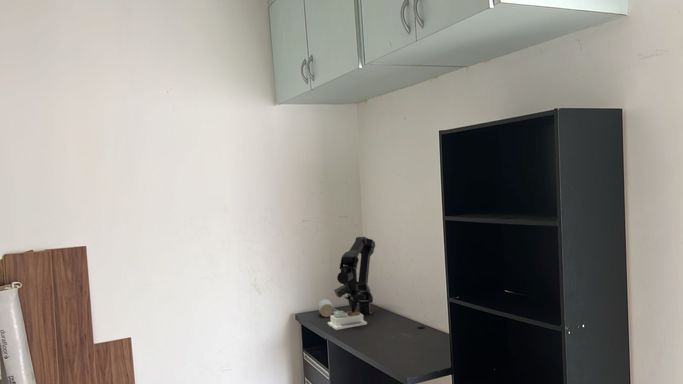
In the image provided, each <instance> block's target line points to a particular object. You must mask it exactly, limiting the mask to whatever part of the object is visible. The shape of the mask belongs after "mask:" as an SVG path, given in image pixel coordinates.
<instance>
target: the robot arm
mask: <svg viewBox="0 0 683 384" xmlns="http://www.w3.org/2000/svg"><path fill="white" fill-rule="evenodd" d="M375 248H376V242H375V240H373V239H371V238H369V237H368V238H367V237H366V236H357V237H356V238H355V241H354V243H353V244H352V246H351V248H350V249H349V250H348V251H345V252H344V253H343V254H342V255H341V258H340V263H339V268H338V269H339V270H340V272H339V273H338V274H337V277H336V278H337V281H338V283H339V284H341V285H340V286H339V287H337V288H335V289H334V290H333V292H334V293H335V296H336V297H338V298H342V297H343V298H344V299H345V300H347V301H348V304H349V305H348V306H349V307H350V311H352V312H354V311H355V310H356V309H357V308H358V312H359V313H361V314H363V317H364V316H369V315H373V312H371V307H370V304H372V303H373V301H374V296H373V294H372V293H371V288H370V286H369V283H368V282H369V274H370V272H369V271H370V260H371V256H372V255H373V253H375V251H374V250H375ZM359 255H360V258H359ZM359 259H360V260H359ZM359 261H360V264H359ZM358 265H359V272H357V269H358ZM357 273H359V274H357ZM357 277H358V278H357ZM344 295H345V296H344ZM357 306H358V307H357Z"/></svg>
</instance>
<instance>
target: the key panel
mask: <svg viewBox="0 0 683 384" xmlns="http://www.w3.org/2000/svg"><path fill="white" fill-rule="evenodd" d="M329 317H330V321H328V322H327V325H328V326H329V327H331V328H333V329H334V330H336V331H338V330H343V329H349V328H353V327H359V326H365V325H368V322H367V321H366V320H364V316H363V314H361V313H359V315H354V316H349V315H348V314H347V312H346V317H342V318H335V317H334V314H332V315H331V316H329Z"/></svg>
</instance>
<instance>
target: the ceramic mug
mask: <svg viewBox="0 0 683 384" xmlns="http://www.w3.org/2000/svg"><path fill="white" fill-rule="evenodd" d="M317 308H318V311H319V313H320V315H321V316H322V317H324V318H329V317H330V316H331V315H334V312H337V311H339V310H338V309H336V308H335V307H334V305H333V303H332V302H331V300H329V299H325V298H324V299H321V300H320V301H319V303H318V305H317Z"/></svg>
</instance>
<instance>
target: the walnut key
mask: <svg viewBox="0 0 683 384" xmlns="http://www.w3.org/2000/svg"><path fill="white" fill-rule="evenodd" d="M346 313H347V314H348V315H349V316H354V315H359V310H356V309H355V311H354V312H352V310H348V311H347V312H346Z"/></svg>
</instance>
